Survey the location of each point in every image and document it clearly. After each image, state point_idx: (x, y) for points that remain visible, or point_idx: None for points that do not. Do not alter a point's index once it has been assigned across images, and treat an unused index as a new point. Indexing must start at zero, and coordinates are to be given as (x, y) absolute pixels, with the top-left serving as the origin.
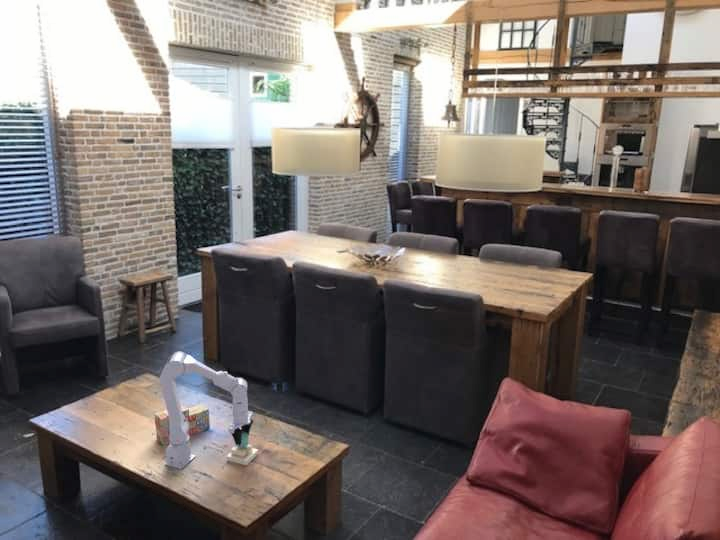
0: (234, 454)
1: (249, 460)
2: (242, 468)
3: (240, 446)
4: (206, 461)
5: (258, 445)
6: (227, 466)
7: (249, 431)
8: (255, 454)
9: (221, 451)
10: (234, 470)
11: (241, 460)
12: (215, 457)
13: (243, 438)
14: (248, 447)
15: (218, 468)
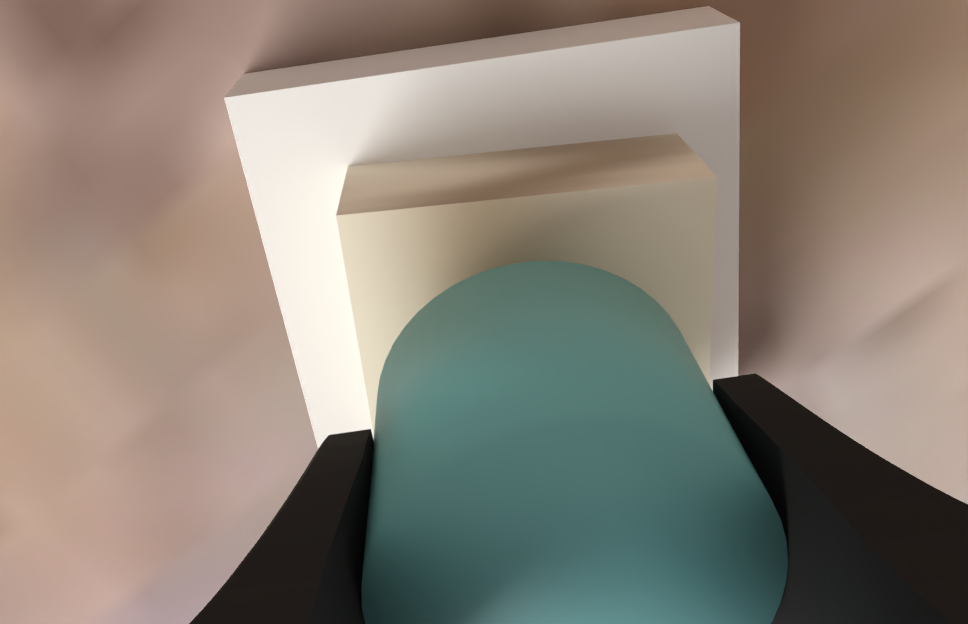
0: None
1: (599, 30)
2: (829, 5)
3: (691, 352)
4: None
5: (34, 259)
6: (862, 279)
7: (257, 541)
8: (357, 66)
9: None
10: (936, 96)
11: (737, 140)
12: None
13: (708, 432)
14: (459, 237)
15: (958, 356)
